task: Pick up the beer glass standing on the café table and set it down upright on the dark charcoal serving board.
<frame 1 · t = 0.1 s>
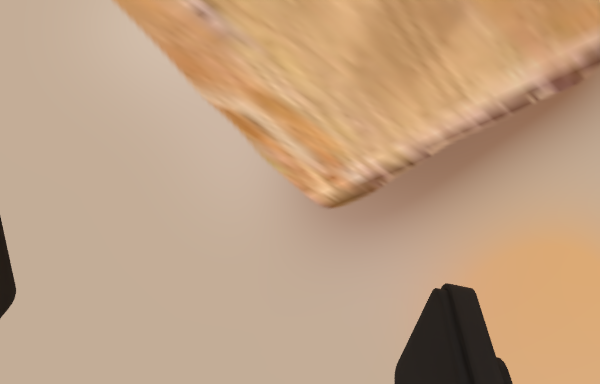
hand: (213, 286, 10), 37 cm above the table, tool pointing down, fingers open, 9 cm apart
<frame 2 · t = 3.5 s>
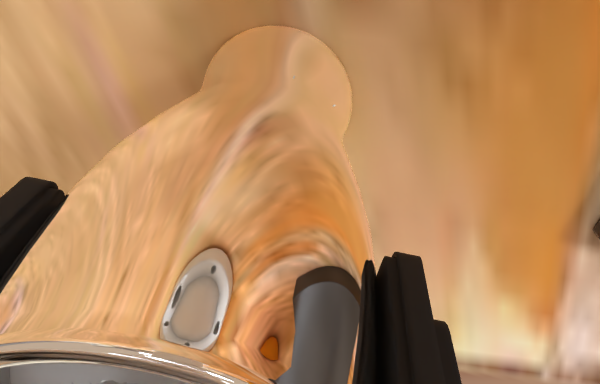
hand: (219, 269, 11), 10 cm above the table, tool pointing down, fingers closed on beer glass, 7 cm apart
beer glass: (278, 98, 19), on the table, touching gripper
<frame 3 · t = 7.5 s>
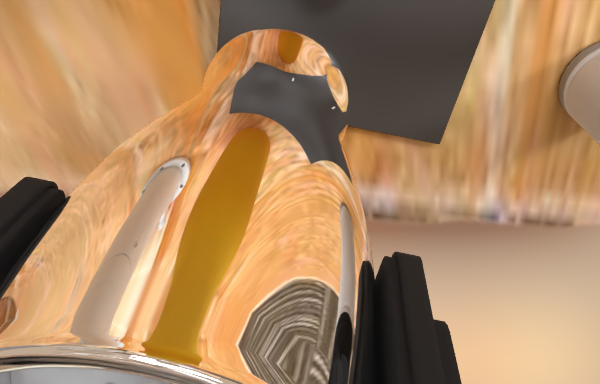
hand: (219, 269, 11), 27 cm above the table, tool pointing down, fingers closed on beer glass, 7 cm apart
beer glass: (278, 100, 19), point 17 cm above the table, touching gripper
serving board: (350, 12, 33), on the table
when the fingers open (12 cm above the table, at t = 11.6 s): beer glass stays where it is, resting on serving board.
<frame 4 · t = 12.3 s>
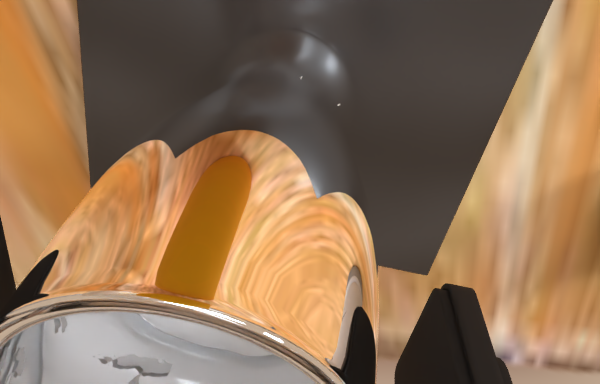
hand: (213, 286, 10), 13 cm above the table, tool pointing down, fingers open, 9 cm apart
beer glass: (285, 99, 20), point 1 cm above the table, touching serving board
serving board: (290, 88, 21), on the table
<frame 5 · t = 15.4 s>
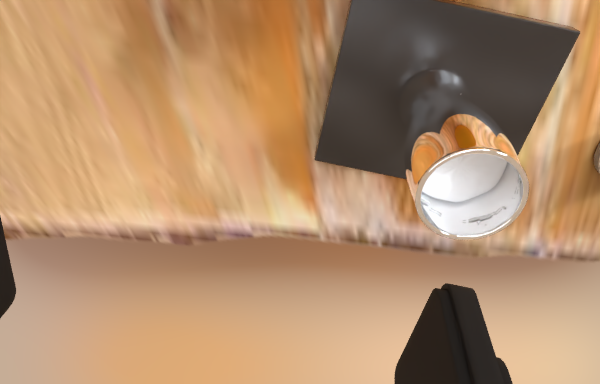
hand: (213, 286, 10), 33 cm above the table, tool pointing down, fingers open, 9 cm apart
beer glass: (433, 102, 40), point 1 cm above the table, touching serving board
serving board: (431, 96, 42), on the table
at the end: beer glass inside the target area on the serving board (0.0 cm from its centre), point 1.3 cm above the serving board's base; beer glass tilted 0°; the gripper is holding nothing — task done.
